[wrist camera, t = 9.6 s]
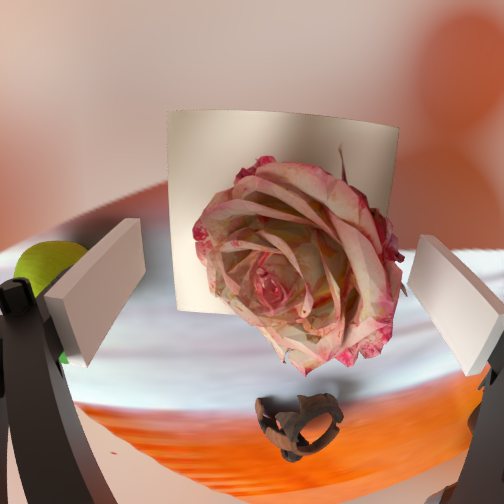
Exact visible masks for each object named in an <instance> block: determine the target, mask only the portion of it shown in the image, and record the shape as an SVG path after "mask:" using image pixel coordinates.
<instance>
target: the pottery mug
mask: <svg viewBox="0 0 504 504" xmlns="http://www.w3.org/2000/svg"><path fill="white" fill-rule="evenodd" d="M297 397H298V398H299V406H300V413H297V412H295V411H289V412H279V413H278V414H276V416H275V418H276V419H277V420H278V421H279V422H280V425H281V427H282V428H281V429H280V430H279V428H278V426H277V423H276V419H275V418H267V417H265V416H263V412H264V406H263V405H262V404H261V399H260V398H257V399H256V403H255V410H256V413H257V417H258V421H259V424H260V426H261V429H262V430H263V432H264V434H265V435H266V437H267V438H268V439H269V440H270V441H271V442H272V443H273V444H274V445H275V446H277V447H278V448H281V453H282V456H283V458H284V459H285V460H286V461H288V462H295V461H298V460H300V459H301V458H302V457H303V456H305V455H310V454H314V453H316V452H318V451H320V450H321V449H323V448H324V447H326V446H327V445H328V444H329V443H330V442H331V441H332V440H333V439H334V438H335V437H336V435H337V434H338V432H339V430H340V429H339V428H338V427H337V426H336V423H341V421H342V420H343V418H344V416H343V413H342V411H341V409H339V408H338V403H337V400H336V398H335V397H334V396H332V395H330V394H328V393H325V394H317V395H314V396H311V397H306V396H302V395H297ZM326 412H329V413H330V414H331V415H332V418H333V421H332V423H331V425H330V427H329V428H328V430H327V431H326V432H325V433H324V434H323V435H322V436H321V437H320V438H319V439H318V440H316V441H314V442H313V443H312V444H310V445H309V442H308V441H307V440H305V438H304V437H303V436H302V435H301V434H300V431H301V430H302V429H303V427H304V426H305V425H306V424H307V423H308V422H309V421H310V420H312V419H313V418H315V417H317V416H318V415H320V414H323V413H326Z"/></svg>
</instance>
